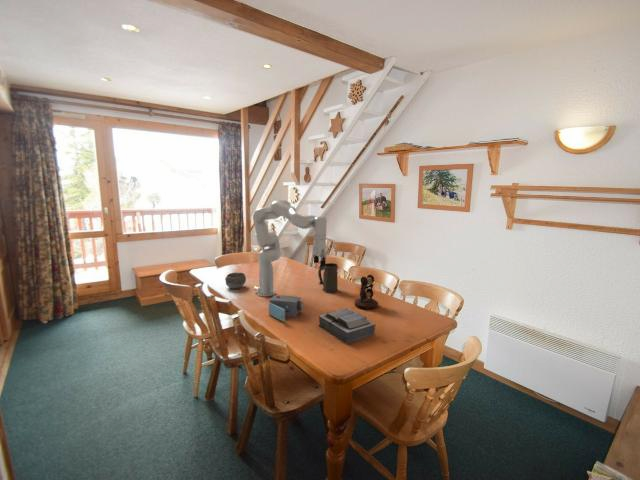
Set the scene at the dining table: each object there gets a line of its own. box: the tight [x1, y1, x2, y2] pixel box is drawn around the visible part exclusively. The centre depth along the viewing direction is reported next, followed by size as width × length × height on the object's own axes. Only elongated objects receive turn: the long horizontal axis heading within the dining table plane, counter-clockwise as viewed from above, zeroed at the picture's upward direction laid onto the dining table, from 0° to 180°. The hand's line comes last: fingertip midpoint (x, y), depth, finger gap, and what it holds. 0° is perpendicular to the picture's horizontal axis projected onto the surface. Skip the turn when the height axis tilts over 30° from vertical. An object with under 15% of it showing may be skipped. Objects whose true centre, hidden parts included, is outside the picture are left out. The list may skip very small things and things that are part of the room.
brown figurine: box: [354, 274, 379, 310], centre depth 200 cm, size 15×15×20 cm
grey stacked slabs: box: [318, 307, 376, 345], centre depth 166 cm, size 23×27×10 cm
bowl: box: [224, 271, 247, 290], centre depth 230 cm, size 14×15×10 cm
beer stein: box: [317, 262, 339, 294], centre depth 228 cm, size 15×11×20 cm
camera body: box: [269, 294, 304, 318], centre depth 186 cm, size 18×9×10 cm, turn 80°
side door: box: [268, 302, 286, 322], centre depth 178 cm, size 14×2×7 cm, turn 45°
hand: (319, 264), depth 193 cm, fingers open, 9 cm apart
